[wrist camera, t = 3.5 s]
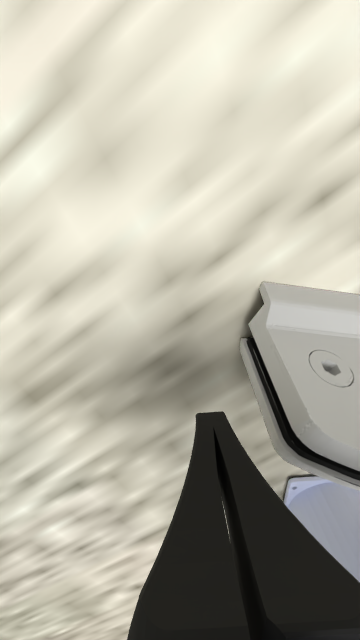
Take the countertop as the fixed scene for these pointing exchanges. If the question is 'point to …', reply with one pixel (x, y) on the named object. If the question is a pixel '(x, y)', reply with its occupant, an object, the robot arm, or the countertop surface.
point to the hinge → (309, 377)
